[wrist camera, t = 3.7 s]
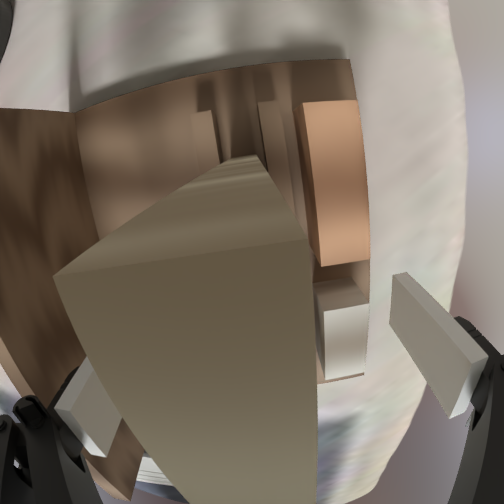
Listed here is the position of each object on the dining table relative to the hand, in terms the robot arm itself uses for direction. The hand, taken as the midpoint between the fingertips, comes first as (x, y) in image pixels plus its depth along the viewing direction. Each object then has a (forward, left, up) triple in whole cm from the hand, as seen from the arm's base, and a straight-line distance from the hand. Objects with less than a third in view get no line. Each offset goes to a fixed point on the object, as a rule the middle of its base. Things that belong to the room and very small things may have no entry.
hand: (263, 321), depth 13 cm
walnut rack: (0, -3, -9) cm, 10 cm away
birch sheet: (0, 0, -8) cm, 8 cm away
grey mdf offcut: (+5, +5, -8) cm, 11 cm away
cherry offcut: (-5, +5, -8) cm, 11 cm away
